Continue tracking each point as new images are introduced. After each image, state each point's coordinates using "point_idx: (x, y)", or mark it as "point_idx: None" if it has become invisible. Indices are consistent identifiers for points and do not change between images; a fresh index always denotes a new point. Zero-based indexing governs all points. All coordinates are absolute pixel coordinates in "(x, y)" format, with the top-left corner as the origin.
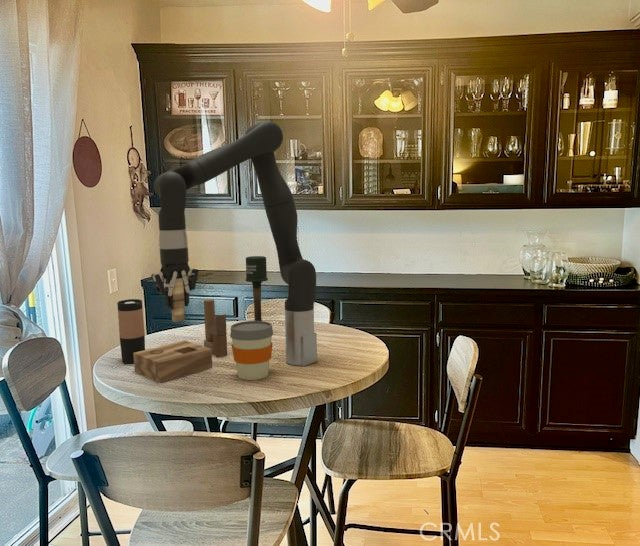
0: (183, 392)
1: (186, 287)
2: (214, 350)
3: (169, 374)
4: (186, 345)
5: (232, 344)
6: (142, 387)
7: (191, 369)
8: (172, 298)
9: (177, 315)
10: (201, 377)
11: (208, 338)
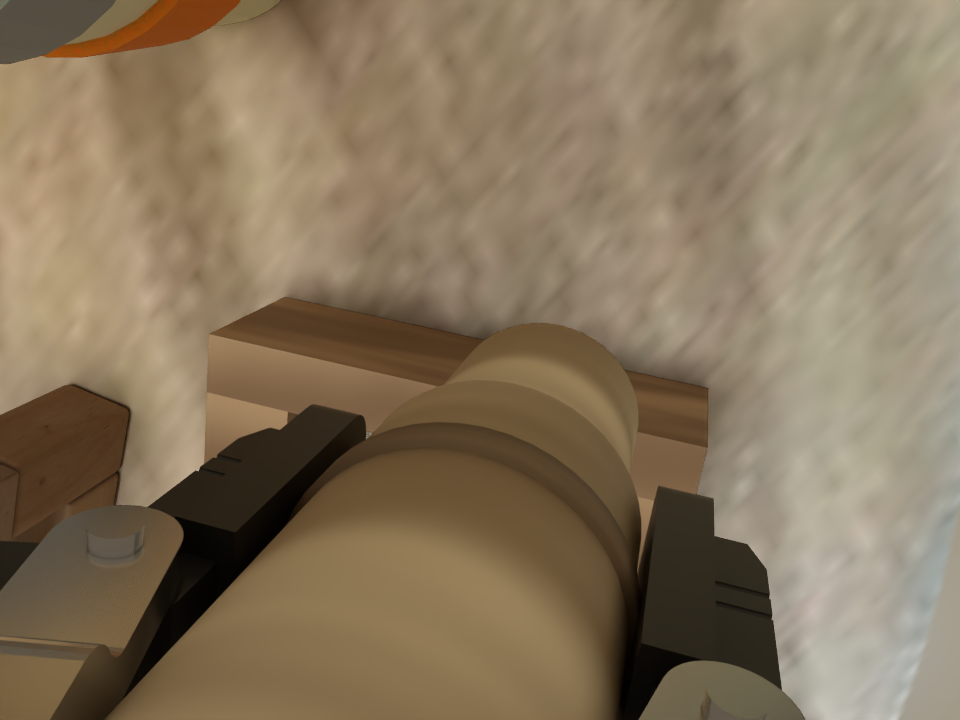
0: (771, 82)
1: (83, 607)
2: (100, 469)
3: None
4: None
5: (152, 20)
6: (837, 436)
7: (441, 341)
8: (649, 602)
9: (604, 390)
10: (467, 211)
11: None
